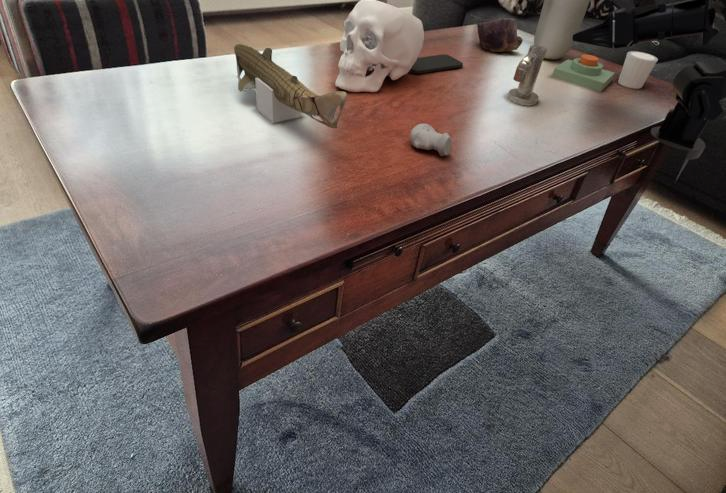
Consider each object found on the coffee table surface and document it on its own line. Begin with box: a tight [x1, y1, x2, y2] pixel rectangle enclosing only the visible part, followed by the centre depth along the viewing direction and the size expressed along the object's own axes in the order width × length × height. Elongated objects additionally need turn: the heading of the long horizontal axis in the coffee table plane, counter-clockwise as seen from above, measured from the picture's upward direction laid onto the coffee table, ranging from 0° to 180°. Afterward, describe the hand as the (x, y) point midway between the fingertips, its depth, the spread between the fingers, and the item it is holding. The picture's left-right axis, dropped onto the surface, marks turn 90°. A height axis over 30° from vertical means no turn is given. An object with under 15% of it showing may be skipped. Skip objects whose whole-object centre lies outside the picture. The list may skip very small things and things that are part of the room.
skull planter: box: [334, 0, 425, 93], centre depth 102 cm, size 14×20×19 cm
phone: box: [409, 53, 464, 75], centre depth 115 cm, size 7×1×15 cm
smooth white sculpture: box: [409, 123, 453, 157], centre depth 82 cm, size 4×8×5 cm
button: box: [579, 54, 600, 67], centre depth 115 cm, size 4×4×2 cm
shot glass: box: [617, 50, 659, 90], centre depth 116 cm, size 7×7×7 cm
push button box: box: [551, 57, 616, 93], centre depth 117 cm, size 12×10×4 cm
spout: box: [513, 44, 547, 83], centre depth 95 cm, size 15×3×4 cm, turn 151°
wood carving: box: [233, 43, 348, 129], centre depth 84 cm, size 9×35×11 cm, turn 37°
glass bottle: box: [533, 0, 591, 60], centre depth 120 cm, size 10×10×28 cm
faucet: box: [507, 58, 544, 107], centre depth 102 cm, size 6×6×9 cm
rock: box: [476, 17, 523, 53], centre depth 127 cm, size 12×9×10 cm
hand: (576, 37), depth 93 cm, fingers open, 9 cm apart
